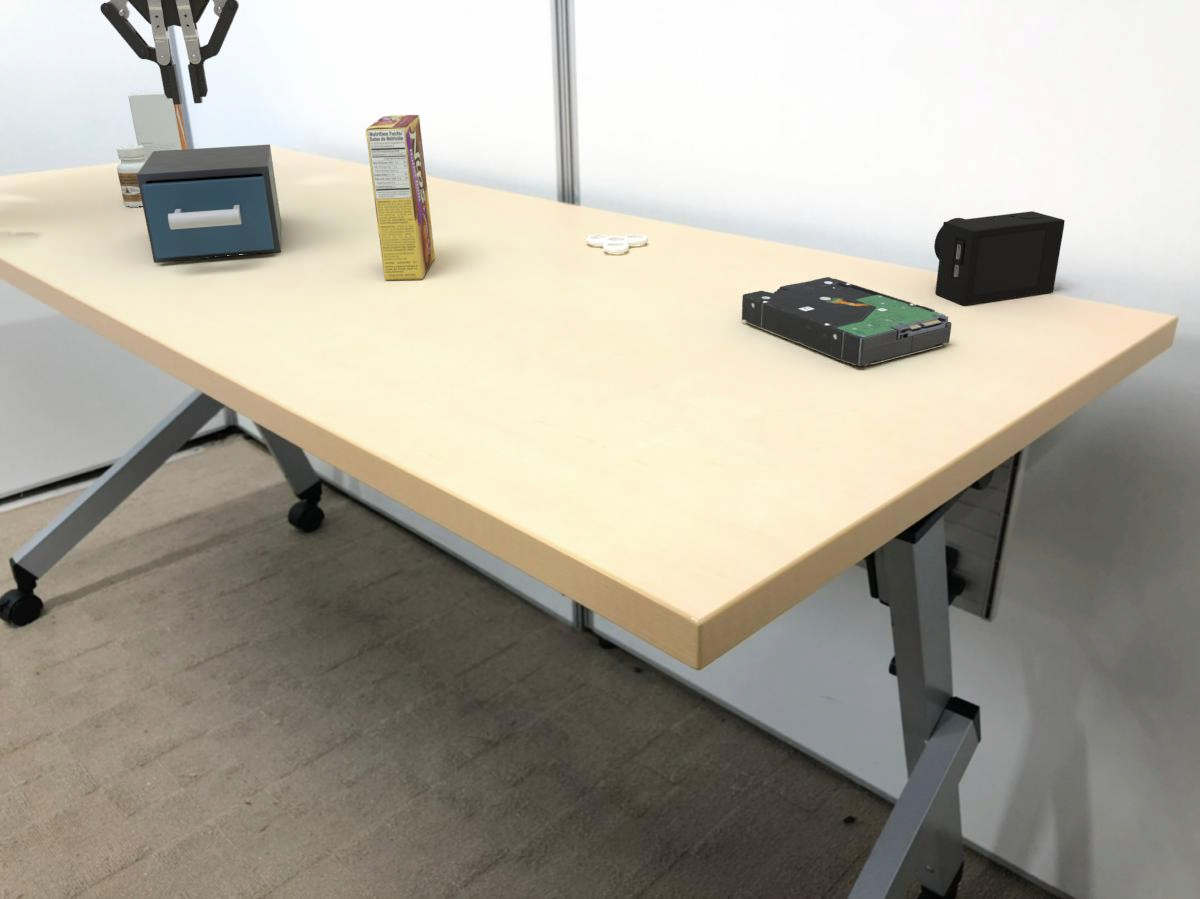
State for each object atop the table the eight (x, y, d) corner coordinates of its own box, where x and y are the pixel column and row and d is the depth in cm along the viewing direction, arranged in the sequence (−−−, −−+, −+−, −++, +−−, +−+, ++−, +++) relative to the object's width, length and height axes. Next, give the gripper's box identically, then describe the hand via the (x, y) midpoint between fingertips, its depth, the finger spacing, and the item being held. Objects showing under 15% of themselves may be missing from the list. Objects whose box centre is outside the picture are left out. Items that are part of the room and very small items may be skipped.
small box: (188, 182, 162) (172, 93, 156) (144, 185, 160) (126, 95, 155) (193, 173, 169) (178, 87, 163) (151, 176, 167) (134, 89, 162)
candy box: (396, 259, 117) (382, 114, 110) (435, 258, 116) (423, 113, 110) (380, 281, 108) (364, 126, 102) (422, 280, 108) (408, 125, 102)
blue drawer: (273, 261, 113) (262, 187, 110) (150, 271, 110) (134, 196, 107) (275, 220, 132) (265, 156, 129) (169, 228, 129) (157, 162, 126)
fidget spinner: (581, 242, 121) (581, 235, 121) (631, 235, 124) (631, 228, 124) (610, 255, 116) (610, 248, 115) (661, 247, 118) (661, 240, 118)
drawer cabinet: (280, 252, 121) (268, 165, 117) (153, 262, 117) (136, 174, 113) (281, 221, 135) (269, 144, 131) (168, 230, 132) (153, 151, 128)
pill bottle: (117, 207, 146) (105, 149, 143) (137, 200, 150) (126, 144, 147) (145, 208, 145) (134, 149, 142) (164, 201, 149) (154, 144, 146)
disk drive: (738, 325, 93) (860, 371, 82) (739, 294, 92) (863, 336, 81) (825, 304, 98) (952, 345, 87) (827, 275, 97) (956, 312, 86)
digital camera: (1014, 278, 105) (1024, 207, 102) (1054, 292, 100) (1066, 218, 97) (926, 291, 101) (934, 218, 98) (963, 306, 97) (973, 230, 94)
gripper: (231, -86, 106) (258, 96, 113) (84, -85, 103) (121, 102, 110) (228, -90, 100) (256, 103, 107) (70, -88, 96) (111, 110, 104)
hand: (187, 102), depth 108 cm, fingers closed
